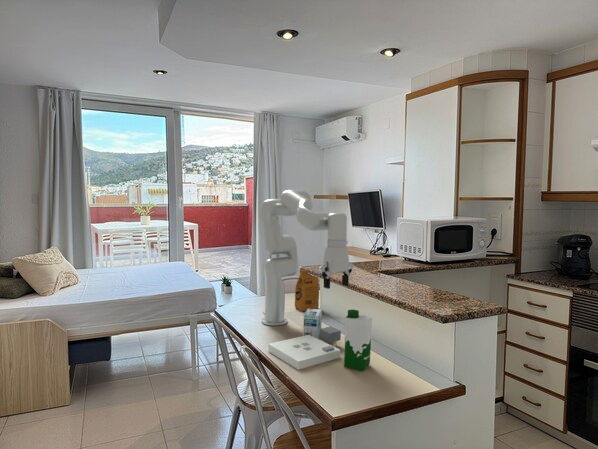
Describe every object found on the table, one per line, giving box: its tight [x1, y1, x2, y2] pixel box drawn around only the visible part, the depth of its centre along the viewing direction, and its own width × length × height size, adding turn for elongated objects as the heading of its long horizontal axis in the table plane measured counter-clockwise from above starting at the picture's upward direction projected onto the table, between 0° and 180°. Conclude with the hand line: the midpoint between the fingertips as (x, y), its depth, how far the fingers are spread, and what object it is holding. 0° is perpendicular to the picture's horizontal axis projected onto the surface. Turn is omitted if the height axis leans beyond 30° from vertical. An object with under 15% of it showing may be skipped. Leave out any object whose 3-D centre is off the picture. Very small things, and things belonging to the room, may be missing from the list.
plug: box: [319, 325, 342, 348], centre depth 163 cm, size 6×6×6 cm
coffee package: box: [294, 269, 320, 312], centre depth 217 cm, size 10×12×22 cm
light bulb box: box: [302, 308, 323, 340], centre depth 174 cm, size 11×7×11 cm, turn 168°
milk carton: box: [343, 309, 373, 372], centre depth 143 cm, size 9×9×20 cm
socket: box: [267, 335, 342, 370], centre depth 153 cm, size 20×20×4 cm
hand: (336, 286), depth 157 cm, fingers open, 9 cm apart
